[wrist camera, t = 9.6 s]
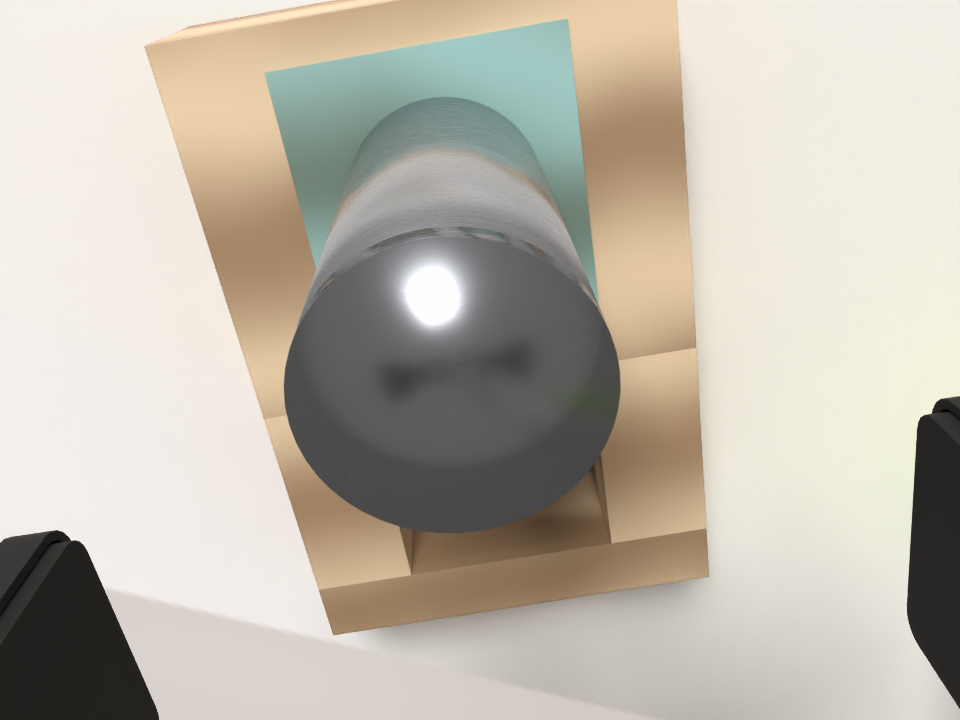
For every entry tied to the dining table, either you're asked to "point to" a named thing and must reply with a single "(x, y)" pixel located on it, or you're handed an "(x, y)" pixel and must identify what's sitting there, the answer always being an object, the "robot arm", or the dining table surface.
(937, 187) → the dining table surface
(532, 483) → the grey cylinder
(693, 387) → the housing
